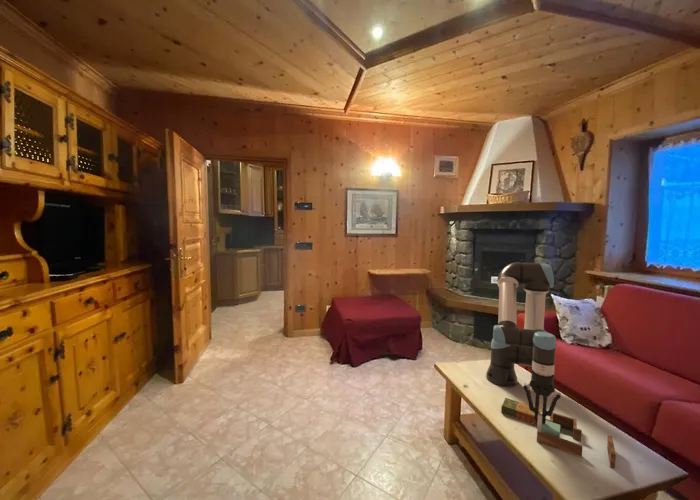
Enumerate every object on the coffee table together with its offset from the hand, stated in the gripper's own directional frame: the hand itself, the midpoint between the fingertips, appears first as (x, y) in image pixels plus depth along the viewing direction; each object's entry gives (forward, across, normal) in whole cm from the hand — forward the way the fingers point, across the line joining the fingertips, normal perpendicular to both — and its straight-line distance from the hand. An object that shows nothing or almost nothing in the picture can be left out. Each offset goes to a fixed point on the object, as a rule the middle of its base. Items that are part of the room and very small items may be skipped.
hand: (539, 429), depth 124 cm
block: (+2, +4, 0) cm, 4 cm away
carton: (+3, -7, +10) cm, 13 cm away
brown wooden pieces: (+2, +11, +4) cm, 12 cm away
